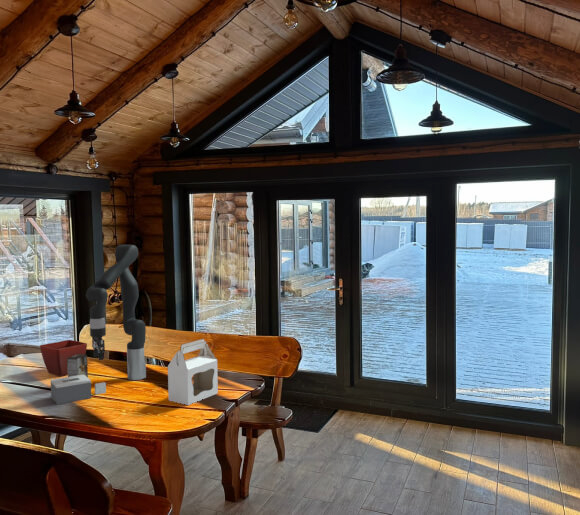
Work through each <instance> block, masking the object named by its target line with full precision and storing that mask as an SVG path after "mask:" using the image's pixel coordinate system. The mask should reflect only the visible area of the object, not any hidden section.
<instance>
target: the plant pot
mask: <svg viewBox="0 0 580 515" xmlns="http://www.w3.org/2000/svg"><path fill="white" fill-rule="evenodd" d="M87 346H88V343H87V342H83V341H77V340H73V339H67V340H66V339H65V340H62V341H61V340H60V341H55V342H51V343H50V342H49V343H44V344H40V345H39V347H40V349H39V350H40V353H41V356H42V360H43V363H44V366H45V368H46V370H47V373H48V374H50V375H54V376H58V377H63V376H68V369H67V358H69V357H71V356H74V355H76V354H84V355H86V352H87Z"/></svg>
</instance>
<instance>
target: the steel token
mask: <svg viewBox="0 0 580 515" xmlns="http://www.w3.org/2000/svg"><path fill="white" fill-rule="evenodd" d="M106 393H107V383H106V382H105V381H104V382H98V383H97V382H96V383H95V384H94V394H95V395H102V394H106Z"/></svg>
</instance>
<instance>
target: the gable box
mask: <svg viewBox="0 0 580 515" xmlns="http://www.w3.org/2000/svg"><path fill="white" fill-rule="evenodd" d="M197 350H199V353H198V356H195V357H191V358H188V359H185V354H187V353H190V352H195V351H197ZM218 376H219V375H218V358H217V357H216V356H215V354H214V352H213V351H212V350H211V348H210V347H209V345H208V343H207V341H206V340H205V339H204V338H202V339H197V340H194V341H190V342H187V343H183V344H181V345H180V350H178V351H177V352H176V353H175V354H174V356H173V357H172V359H171V361H170V362H169V364H168V365H167V380H168V381H167V382H168V383H167V388H168V389H167V390H168V393H167V394H168V401H169V402H172V401H173V403H176V402H177V403H176V404H180V403H181V404H180V405H184V404H185V406H190V405H192V403H193V404H195V403H198V402H200V401H202V399H203V400H205V399H208V398H210V397H212V396H215V395H217V394H218V392H219V389H218V385H219V383H218V379H219V378H218ZM197 401H198V402H197Z"/></svg>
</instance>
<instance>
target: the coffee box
mask: <svg viewBox="0 0 580 515" xmlns="http://www.w3.org/2000/svg"><path fill="white" fill-rule="evenodd" d="M67 369H68V375H67V377H71V376H77V375H83V374H84V375H85V376H86V377H88V378H89V374H88V372H89V371H88V354H85V355H84V354H76V355H74V356H71V357H69V358H67Z"/></svg>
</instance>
